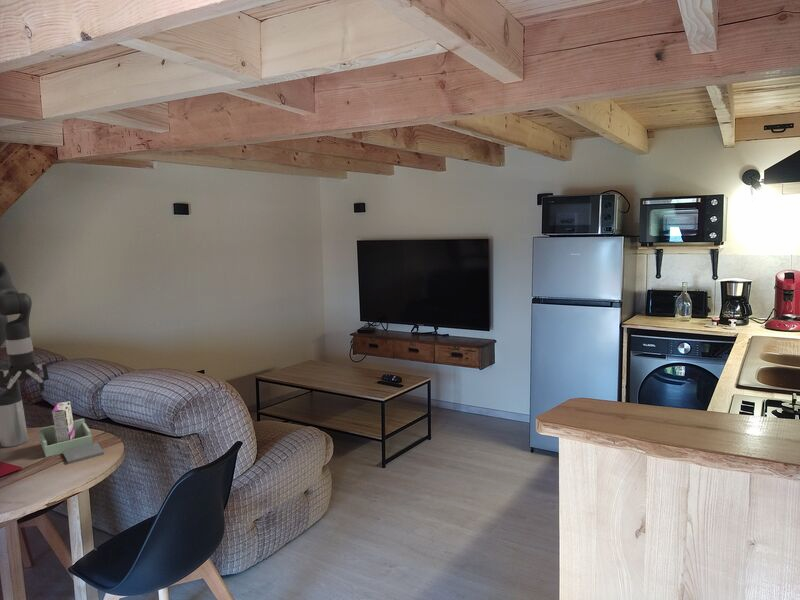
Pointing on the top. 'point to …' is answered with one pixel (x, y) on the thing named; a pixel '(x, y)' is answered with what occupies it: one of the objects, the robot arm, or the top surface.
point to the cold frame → (50, 437)
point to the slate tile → (83, 453)
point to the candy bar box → (63, 422)
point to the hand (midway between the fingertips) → (26, 395)
